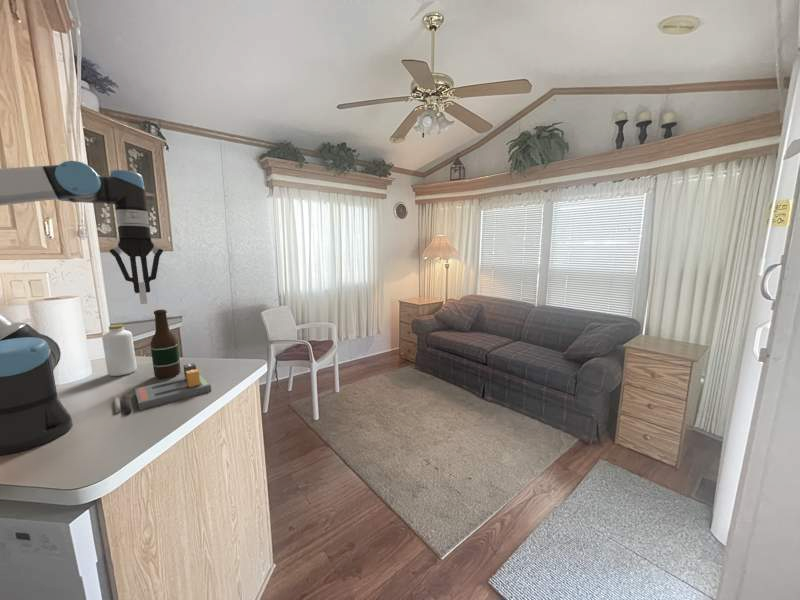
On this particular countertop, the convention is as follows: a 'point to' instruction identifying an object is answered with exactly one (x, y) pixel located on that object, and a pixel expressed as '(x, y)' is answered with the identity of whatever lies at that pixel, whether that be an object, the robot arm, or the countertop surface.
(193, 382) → the block
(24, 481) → the countertop surface
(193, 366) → the block
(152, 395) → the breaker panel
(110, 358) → the white plastic bottle
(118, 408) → the cord grey near
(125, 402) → the cord black near
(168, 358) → the beer bottle
